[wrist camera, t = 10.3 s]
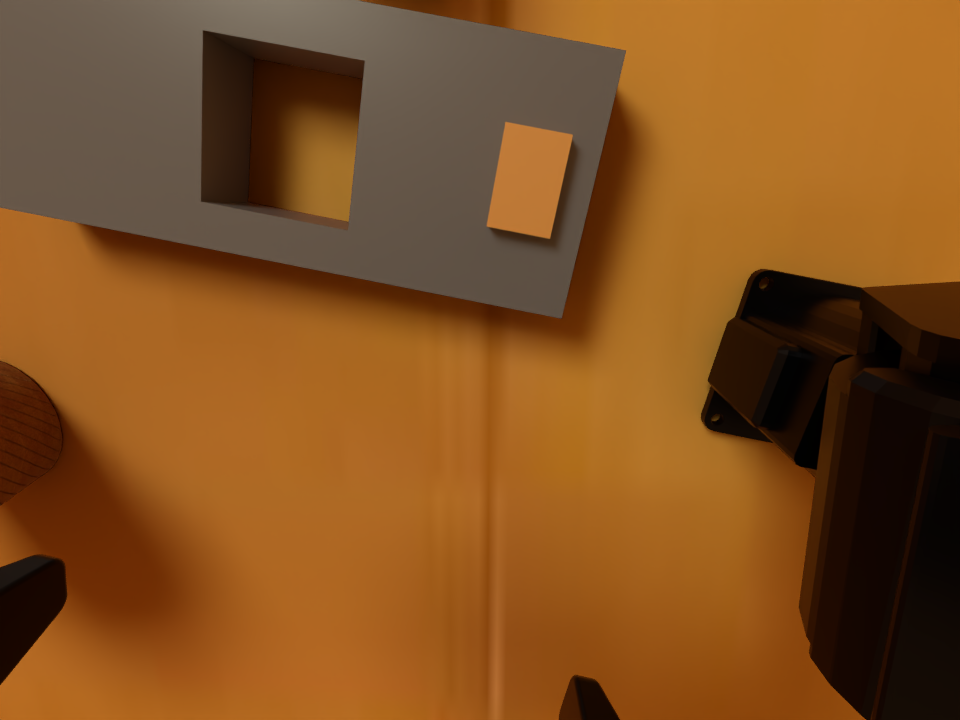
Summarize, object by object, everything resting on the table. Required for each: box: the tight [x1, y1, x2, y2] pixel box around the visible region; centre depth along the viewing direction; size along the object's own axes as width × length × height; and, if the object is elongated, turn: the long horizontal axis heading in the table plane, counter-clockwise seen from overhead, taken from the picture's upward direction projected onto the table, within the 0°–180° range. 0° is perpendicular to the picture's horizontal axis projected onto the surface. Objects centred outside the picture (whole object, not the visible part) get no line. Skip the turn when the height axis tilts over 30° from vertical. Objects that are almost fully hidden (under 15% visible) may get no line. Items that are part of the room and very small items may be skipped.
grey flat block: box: [0, 0, 626, 319], centre depth 17 cm, size 20×8×4 cm, turn 79°
